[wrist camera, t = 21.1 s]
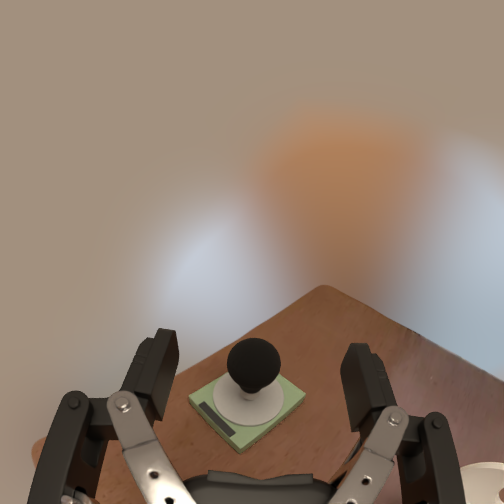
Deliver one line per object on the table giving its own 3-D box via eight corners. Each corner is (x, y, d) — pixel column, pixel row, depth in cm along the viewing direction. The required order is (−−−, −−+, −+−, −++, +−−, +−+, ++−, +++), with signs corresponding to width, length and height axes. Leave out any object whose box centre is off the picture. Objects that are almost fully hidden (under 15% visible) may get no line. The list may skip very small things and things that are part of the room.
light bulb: (249, 371, 36) (256, 319, 31) (281, 396, 32) (296, 348, 27) (217, 393, 32) (215, 343, 27) (248, 422, 28) (256, 379, 24)
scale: (239, 454, 27) (240, 447, 25) (189, 403, 33) (187, 393, 31) (302, 401, 34) (307, 391, 33) (253, 362, 40) (254, 351, 39)
